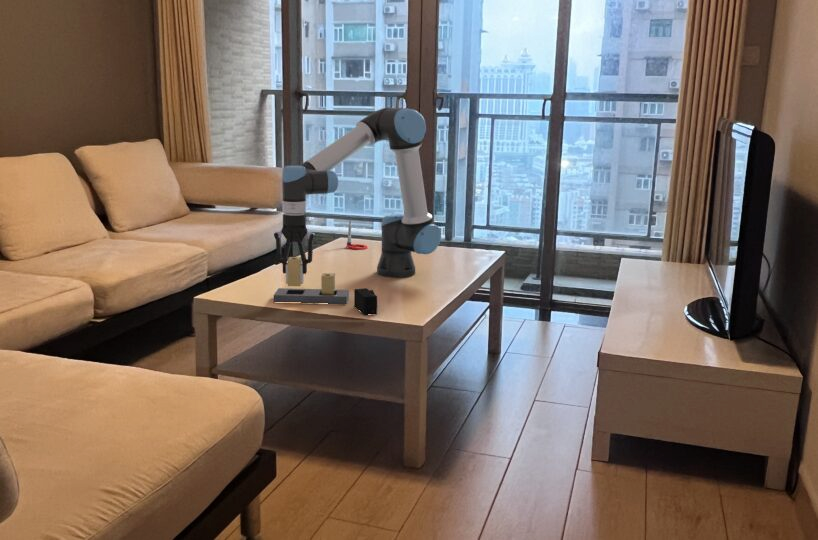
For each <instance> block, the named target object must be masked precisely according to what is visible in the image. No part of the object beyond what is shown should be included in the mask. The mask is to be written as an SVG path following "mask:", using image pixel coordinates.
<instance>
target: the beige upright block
mask: <svg viewBox="0 0 818 540" xmlns="http://www.w3.org/2000/svg"><path fill="white" fill-rule="evenodd" d="M335 282H336V273H330V272H329V273H327V272H324V273H322V275H321V282H320V283H321V286H320V287H321V289H322V295H335V290H336V283H335Z"/></svg>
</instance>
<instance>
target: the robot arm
mask: <svg viewBox="0 0 818 540" xmlns="http://www.w3.org/2000/svg"><path fill="white" fill-rule="evenodd" d="M426 124H427V123H426V120H425V118H424V116H423V115H422V114H421V113H420V112H419V111H417V110H416V109H412V108H409V107H408V108H407V107H405V108H404V107H401V108H400V107H382V108H380V109H377V110H375V111H374V112H372V113H371V114H368V115H367V116H366V117H364V118H363V119H360V121H358V122H357V123H356V124H355V127H354V128H352V129H351V130H350V131H348V132H347V133H345V134H344V135H342V136H341V137H339V138H338V139H337V140H335V141H334V142H332V143H331V144H329V145H328V146H326V147H325V148H323V149H322V150H320V151H318V152H317V153H315V155H313V156H311V157H309V158H308V160H306V161H304V162H303V163H301V164H300V165H286V166H283V168H282V175H281V177H282V178H281V184H282V185H281V186H282V187H281V188H282V189H281V190H282V212H283V214H282V227H281V229H280V230H279V231H275V232H274V233H273V236H274V238H275V248H276V249H275V250H276V251H275V252H276V262H278V263H281V264H282V273H283V274H285V284H287V285H288V258H289V254H290V250H291V245H292V243H293V242H294V243H297V247H298V251H299V255H300V257H301V260H302V263H301V264H300V284H301V285H303V284H304V283H305V282H304V281H305V278H304V276H305V275H306V274H307V272H308V270H307V269H308V268H307V266H308V264H311V263H312V261H313V254H314V253H313V251H314V250H313V249H314V238H315V236H316V234H315V232H311V231H309V230H308V228H307V215H306V214H305V213H306V212H307V195H321V194H322V195H325V194H327V195H328V194H332V193H335V192H336V191H337V190H338V187H339V177H338V175H337V173H336V172H335V171H333V169H335V168H336V167H337V166H339V165H340V164H342V163H343V162H345V161H346V160H348V159H349V158H351V157H353V156H354V155H356V154H357V153H358V152H359V151H360V150H362V149H364V148H365V147H367V146H370V147H371V146H373V145H374V144H376V143H378V142H382V141H388V144H389V145H388V146H389V149H390V150H391V152H393V153H394V154H395V155H394V156H395V160H396V161H395V162H396V167H397V172H398V173H397V174H398V175H397V176H398V180H399V181H398V182H399V188H400V193H401V198H402V199H401V200H402V205H403V212H404V213H402V214H389V215H385V216H383V217H382V221H381V253H380V256H379V260H378V263H377V265H376V273H377V275H379V276H383V277H390V278H403V277H404V278H405V277H410V276H413V275H416V265H415V262H414V259H413V256H412V253H416V254H417V255H418V254H419V255H430V254H432V253H433V252H435V251H436V250H437V248H438V247H439V245H440V243H441V239H442V231H441V229H440V228H439V226H438V225H436V224H435V223H434V219H433V215H432V214H431V213H429V211H428V206H427V205H428V204H427V198H426V192H425V184H424V178H423V172H422V164H421V158H420V150H419V149H420V148H421V146H422V145H423V143H422V142H423V141H422V140H423V139H424V137H425V134H426V132H427V125H426ZM282 236H284V238H285V240H286V241H285V246H284V252H283V256H282V239H281V238H282ZM305 236H306V237H307V238H306V239H308V241H307V255H306V251H305V247H304V241H303V240H304V237H305ZM306 256H307V257H306Z"/></svg>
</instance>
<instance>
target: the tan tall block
mask: <svg viewBox="0 0 818 540" xmlns="http://www.w3.org/2000/svg"><path fill="white" fill-rule="evenodd" d="M287 263H288V284H287V286H288V287H301V286H302V284H300V264H301V263H302V260H301V256H300V257H299V256H297V257H296V256H295V257H294V256H288V260H287Z"/></svg>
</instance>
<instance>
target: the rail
mask: <svg viewBox="0 0 818 540" xmlns="http://www.w3.org/2000/svg"><path fill="white" fill-rule="evenodd" d="M349 299H350V290H349V289H335V295H322V288H320V289H319V288H283V287H282V288H277V290H276V291H275V293H274V294H273V303H274V302H301V303H328V304H348V302H349ZM347 301H348V302H347Z"/></svg>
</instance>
